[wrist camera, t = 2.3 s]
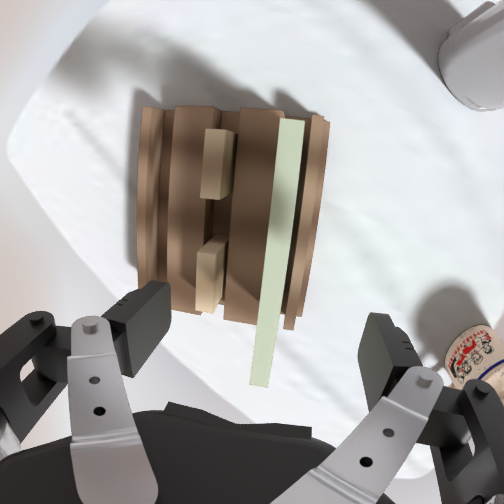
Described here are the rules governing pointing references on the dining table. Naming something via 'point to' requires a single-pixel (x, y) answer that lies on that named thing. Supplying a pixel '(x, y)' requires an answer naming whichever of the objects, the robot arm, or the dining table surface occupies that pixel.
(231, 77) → the dining table surface
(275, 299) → the panel
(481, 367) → the teacup with lid
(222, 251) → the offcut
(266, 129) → the rack
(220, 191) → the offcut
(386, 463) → the robot arm
